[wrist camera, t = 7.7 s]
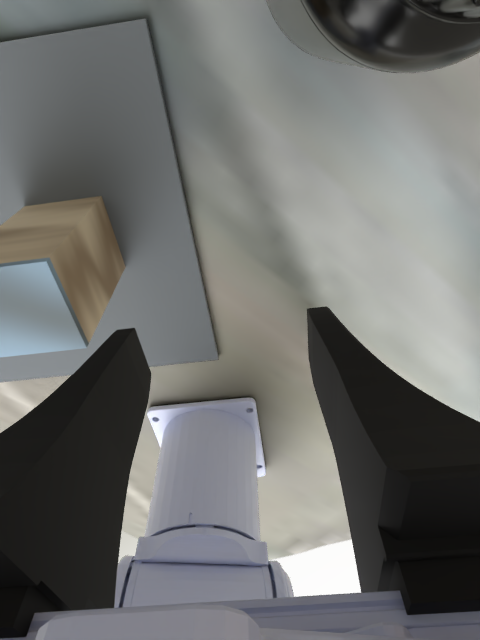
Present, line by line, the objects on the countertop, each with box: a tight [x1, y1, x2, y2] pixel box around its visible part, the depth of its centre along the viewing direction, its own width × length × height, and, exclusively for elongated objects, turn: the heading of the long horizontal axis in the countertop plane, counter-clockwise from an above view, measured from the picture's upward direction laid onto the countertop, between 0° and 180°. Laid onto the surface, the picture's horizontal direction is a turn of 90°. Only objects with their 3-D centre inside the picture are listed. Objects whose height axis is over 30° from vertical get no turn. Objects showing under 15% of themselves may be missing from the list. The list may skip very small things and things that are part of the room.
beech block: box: [0, 196, 125, 357], centre depth 18 cm, size 4×4×7 cm
